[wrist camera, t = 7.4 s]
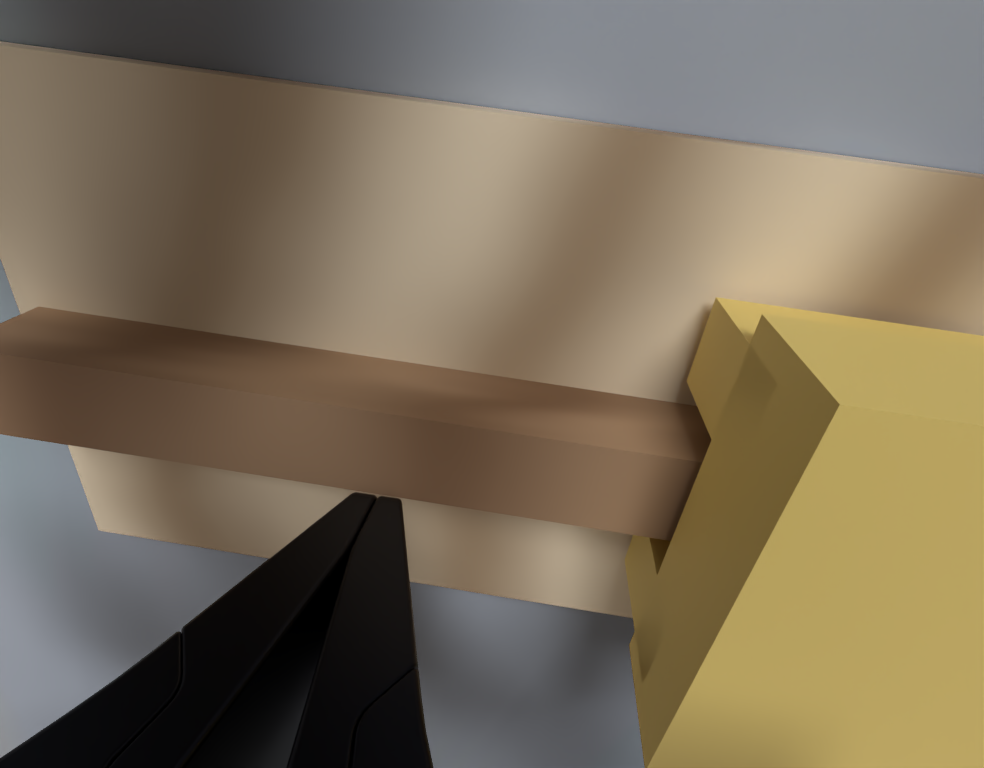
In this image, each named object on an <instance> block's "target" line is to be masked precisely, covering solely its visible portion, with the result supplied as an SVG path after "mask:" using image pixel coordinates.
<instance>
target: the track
mask: <svg viewBox="0 0 984 768" xmlns="http://www.w3.org/2000/svg"><path fill="white" fill-rule="evenodd" d="M0 259H1V261H2V264H3V267H4V270H5V272H6V275H7V278H8V281H9V284H10V286H11V289H12V292H13V295H14V297H15V300H16V303H17V306H18V308H19V311H20V315H18V316H16V317H14V318H12V319H9V320H7V321H5V322H3V323H0V434H3V435H9V436H15V437H22V438H28V439H34V440H41V441H47V442H53V443H59V444H66V445H68V447H69V450H70V452H71V455H72V458H73V461H74V463H75V466H76V469H77V472H78V474H79V477H80V480H81V483H82V485H83V488H84V491H85V494H86V497H87V499H88V502H89V505H90V508H91V510H92V513H93V516H94V519H95V521H96V524H97V527H98V530H99V531H105V532H111V533H117V534H123V535H129V536H135V537H142V538H148V539H154V540H160V541H166V542H172V543H178V544H184V545H190V546H196V547H202V548H209V549H215V550H221V551H227V552H233V553H239V554H245V555H251V556H257V557H263V558H269V559H270V558H271V557H272V556H273V555H275V554H276V553H277V552H278V551H280V550H281V549H282V548H283V547H285V546H286V545H287V544H288V543H290V542H291V541H292V540H293V539H295V538H296V537H297V536H299V535H300V534H301V533H302V532H304V531H305V530H306V529H307V528H309V527H310V526H311V525H312V524H314V523H315V522H316V521H317V520H319V519H320V518H321V517H322V516H324V515H325V514H326V513H327V512H329V511H330V510H331V509H333V508H334V507H335V506H336V505H338V504H339V503H340V502H341V501H343V500H344V499H345V498H346V497H348V496H349V495H350V494H352V493H354V492H360V493H366V494H373V495H375V496H376V497H377V498H378V497H379V496H387V497H393V498H399V499H401V501H402V507H403V517H404V528H405V538H406V548H407V558H408V569H409V579H410V582H416V583H422V584H428V585H434V586H440V587H446V588H452V589H458V590H464V591H470V592H476V593H483V594H489V595H495V596H501V597H507V598H513V599H519V600H525V601H531V602H537V603H543V604H550V605H556V606H562V607H568V608H574V609H580V610H586V611H592V612H598V613H604V614H610V615H617V616H623V617H629V618H633V616H632V609H631V602H630V595H629V588H628V581H627V574H626V566H625V557H626V554H627V551H628V548H629V545H630V543H631V540H632V537H633V535H637V536H643V537H649V538H656V539H662V540H668V541H671V540H672V537H673V535H674V532H675V530H676V527H677V525H678V522H679V520H680V517H681V515H682V512H683V510H684V507H685V505H686V502H687V500H688V497H689V495H690V492H691V490H692V487H693V485H694V482H695V480H696V477H697V475H698V472H699V470H700V467H701V465H702V462H703V460H704V457H705V455H706V452H707V450H708V447H709V445H710V442H711V437H710V435H709V433H708V430H707V428H706V426H705V423H704V421H703V419H702V416H701V414H700V412H699V409H698V407H697V405H696V402H695V400H694V397H693V395H692V393H691V390H690V388H689V386H688V383H687V379H688V376H689V373H690V370H691V367H692V364H693V361H694V358H695V356H696V353H697V350H698V347H699V344H700V341H701V338H702V335H703V332H704V330H705V327H706V324H707V321H708V318H709V315H710V312H711V309H712V307H713V304H714V301H715V298H716V297H718V298H725V299H732V300H739V301H746V302H753V303H760V304H767V305H774V306H781V307H788V308H794V309H801V310H808V311H815V312H822V313H829V314H836V315H843V316H850V317H857V318H864V319H870V320H877V321H884V322H891V323H898V324H905V325H912V326H919V327H926V328H933V329H940V330H946V331H953V332H960V333H967V334H974V335H981V336H984V174H977V173H969V172H962V171H954V170H947V169H940V168H932V167H925V166H918V165H910V164H903V163H895V162H888V161H881V160H873V159H866V158H858V157H851V156H844V155H836V154H829V153H822V152H814V151H807V150H799V149H792V148H785V147H777V146H770V145H763V144H755V143H748V142H740V141H733V140H726V139H718V138H711V137H703V136H696V135H689V134H681V133H674V132H667V131H659V130H652V129H644V128H637V127H630V126H622V125H615V124H608V123H600V122H593V121H585V120H578V119H571V118H563V117H556V116H548V115H541V114H534V113H526V112H519V111H512V110H504V109H497V108H489V107H482V106H475V105H467V104H460V103H452V102H445V101H438V100H430V99H423V98H416V97H408V96H401V95H393V94H386V93H379V92H371V91H364V90H357V89H349V88H342V87H334V86H327V85H320V84H312V83H305V82H297V81H290V80H283V79H275V78H268V77H261V76H253V75H246V74H238V73H231V72H224V71H216V70H209V69H202V68H194V67H187V66H179V65H172V64H165V63H157V62H150V61H142V60H135V59H128V58H120V57H113V56H106V55H98V54H91V53H83V52H76V51H69V50H61V49H54V48H47V47H39V46H32V45H24V44H17V43H10V42H2V41H0Z"/></svg>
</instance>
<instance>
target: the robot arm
mask: <svg viewBox="0 0 984 768" xmlns="http://www.w3.org/2000/svg"><path fill="white" fill-rule="evenodd" d="M0 768H433V763H432V758H431V753H430V749H429V744H428V739H427V734H426V728H425V720H424V713H423V706H422V698H421V689H420V679H419V671H418V661H417V651H416V640H415V630H414V620H413V610H412V599H411V589H410V579H409V569H408V558H407V548H406V538H405V528H404V517H403V507H402V501H401V499H399V498H393V497H387V496H379V497H378V498H377V497H376V496H375V495H373V494H366V493H360V492H354V493H352V494H350V495H349V496H348V497H346V498H345V499H344V500H343V501H341V502H340V503H339V504H338V505H336V506H335V507H334V508H333V509H331V510H330V511H329V512H327V513H326V514H325V515H324V516H322V517H321V518H320V519H319V520H317V521H316V522H315V523H314V524H312V525H311V526H310V527H309V528H307V529H306V530H305V531H304V532H302V533H301V534H300V535H299V536H297V537H296V538H295V539H293V540H292V541H291V542H290V543H288V544H287V545H286V546H285V547H283V548H282V549H281V550H280V551H278V552H277V553H276V554H275V555H273V556H272V557H271V558H270V559H268V560H267V561H266V562H264V563H263V564H262V565H261V566H259V567H258V568H257V569H256V570H254V571H253V572H252V573H251V574H249V575H248V576H247V577H246V578H244V579H243V580H242V581H241V582H239V583H238V584H237V585H235V586H234V587H233V588H232V589H230V590H229V591H228V592H227V593H225V594H224V595H223V596H222V597H220V598H219V599H218V600H217V601H215V602H214V603H213V604H212V605H210V606H209V607H208V608H206V609H205V610H204V611H203V612H201V613H200V614H199V615H198V616H196V617H195V618H194V619H193V620H191V621H190V622H189V623H188V624H186V625H185V626H184V627H183V628H182V633H181V632H176V633H175V634H173V635H172V636H171V637H170V638H168V639H167V640H166V641H165V642H163V643H162V644H161V645H160V646H158V647H157V648H156V649H154V650H153V651H152V652H151V653H149V654H148V655H147V656H145V657H144V658H143V659H141V660H140V661H139V662H137V663H136V664H135V665H133V666H132V667H131V668H130V669H128V670H127V671H126V672H124V673H123V674H122V675H120V676H119V677H118V678H116V679H115V680H114V681H112V682H111V683H109V684H108V685H106V686H105V687H104V688H102V689H101V690H99V691H98V692H96V693H95V694H94V695H92V696H91V697H89V698H88V699H87V700H85V701H84V702H82V703H81V704H79V705H78V706H77V707H75V708H74V709H72V710H71V711H69V712H68V713H66V714H65V715H63V716H62V717H60V718H59V719H58V720H56V721H55V722H53V723H52V724H50V725H49V726H47V727H46V728H44V729H43V730H41V731H40V732H38V733H37V734H35V735H34V736H32V737H31V738H29V739H28V740H26V741H25V742H23V743H22V744H21V745H19V746H18V747H16V748H15V749H13V750H12V751H10V752H9V753H7V754H6V755H4V756H3V757H1V758H0Z"/></svg>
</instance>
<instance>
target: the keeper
mask: <svg viewBox="0 0 984 768" xmlns="http://www.w3.org/2000/svg"><path fill="white" fill-rule="evenodd" d="M687 383H688V386H689V388H690V390H691V393H692V395H693V397H694V400H695V402H696V405H697V407H698V409H699V412H700V414H701V416H702V419H703V421H704V423H705V426H706V428H707V430H708V433H709V435H710V437H711V442H710V445H709V447H708V450H707V452H706V455H705V457H704V460H703V462H702V465H701V467H700V470H699V472H698V475H697V477H696V480H695V482H694V485H693V487H692V490H691V492H690V495H689V497H688V500H687V502H686V505H685V507H684V510H683V512H682V515H681V517H680V520H679V522H678V525H677V527H676V530H675V532H674V535H673V537H672V540H671V541H668V540H662V539H656V538H649V537H643V536H637V535H633V537H632V540H631V543H630V545H629V548H628V551H627V554H626V557H625V566H626V574H627V581H628V588H629V595H630V602H631V609H632V616H633V623H634V630H635V632H634V634H633V637H632V639H631V642H630V644H629V648H630V656H631V664H632V672H633V680H634V687H635V695H636V703H637V711H638V719H639V726H640V734H641V742H642V750H643V758H644V765H645V768H984V336H981V335H974V334H967V333H960V332H953V331H946V330H940V329H933V328H926V327H919V326H912V325H905V324H898V323H891V322H884V321H877V320H870V319H864V318H857V317H850V316H843V315H836V314H829V313H822V312H815V311H808V310H801V309H794V308H788V307H781V306H774V305H767V304H760V303H753V302H746V301H739V300H732V299H725V298H718V297H716V298H715V301H714V304H713V307H712V309H711V312H710V315H709V318H708V321H707V324H706V327H705V330H704V332H703V335H702V338H701V341H700V344H699V347H698V350H697V353H696V356H695V358H694V361H693V364H692V367H691V370H690V373H689V376H688V379H687Z"/></svg>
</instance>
